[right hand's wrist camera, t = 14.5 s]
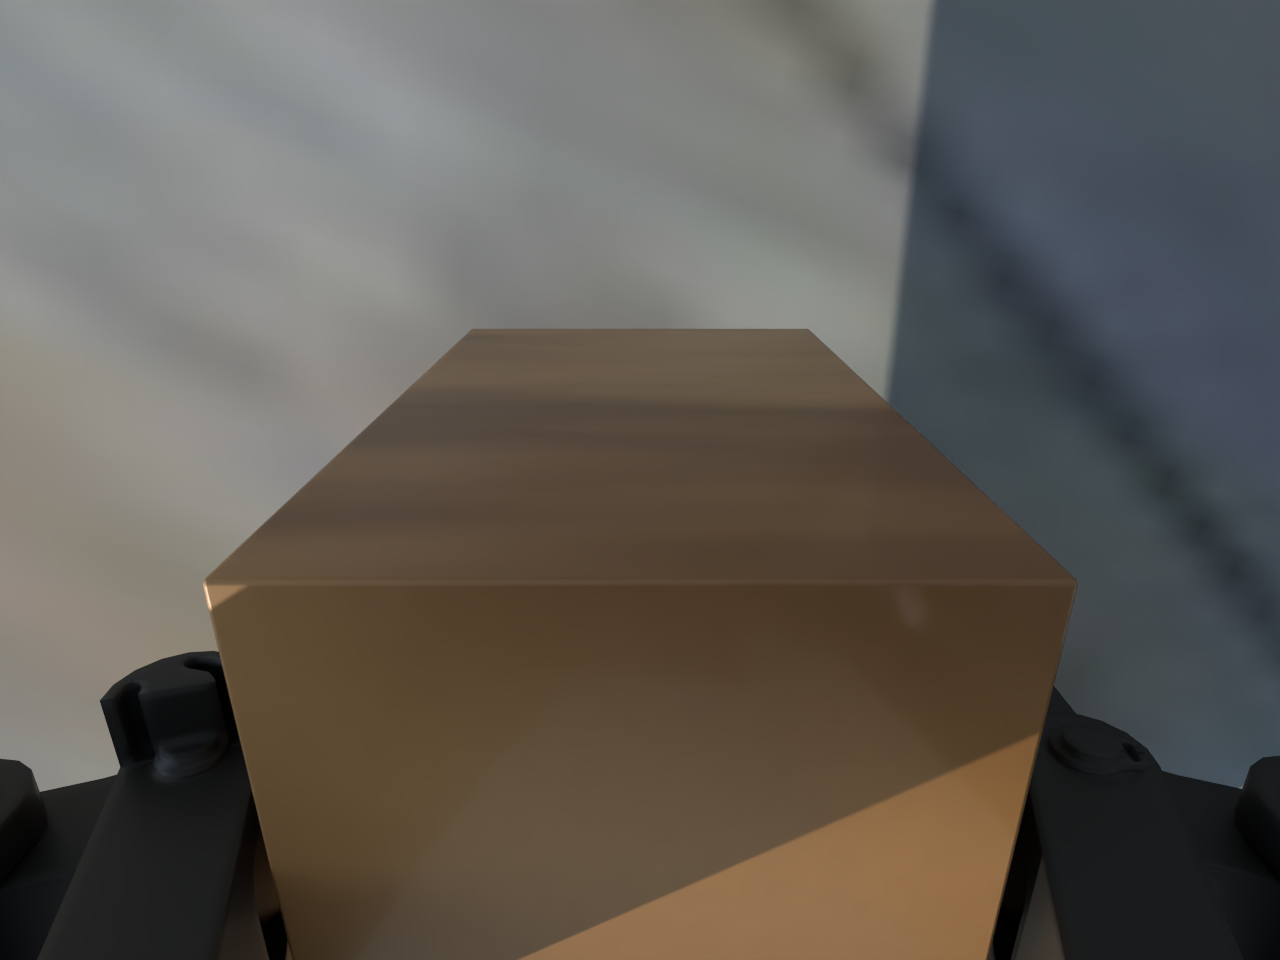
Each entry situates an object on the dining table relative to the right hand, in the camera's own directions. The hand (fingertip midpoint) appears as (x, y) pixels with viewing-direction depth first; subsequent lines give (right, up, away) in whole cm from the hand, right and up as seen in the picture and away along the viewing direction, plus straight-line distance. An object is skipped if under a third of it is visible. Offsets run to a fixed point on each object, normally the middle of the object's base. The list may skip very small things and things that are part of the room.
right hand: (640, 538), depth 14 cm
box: (0, -6, +3) cm, 7 cm away
